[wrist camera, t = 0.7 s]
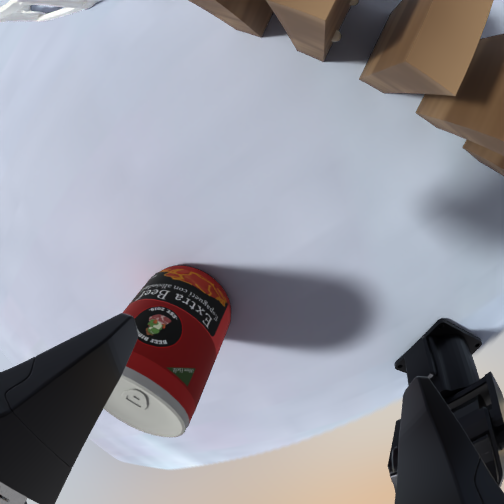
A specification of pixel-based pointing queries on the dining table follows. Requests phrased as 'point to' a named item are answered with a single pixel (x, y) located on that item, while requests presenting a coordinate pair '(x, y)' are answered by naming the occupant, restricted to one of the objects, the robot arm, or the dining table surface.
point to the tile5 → (240, 13)
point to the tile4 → (312, 23)
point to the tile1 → (486, 156)
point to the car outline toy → (21, 11)
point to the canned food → (171, 350)
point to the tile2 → (474, 99)
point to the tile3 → (426, 46)
